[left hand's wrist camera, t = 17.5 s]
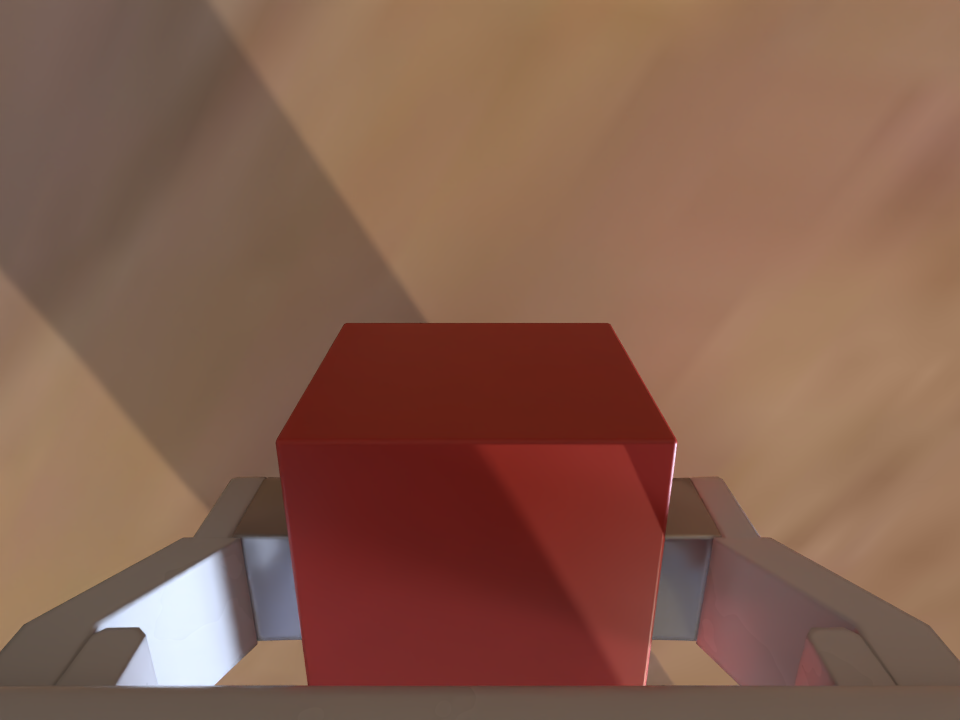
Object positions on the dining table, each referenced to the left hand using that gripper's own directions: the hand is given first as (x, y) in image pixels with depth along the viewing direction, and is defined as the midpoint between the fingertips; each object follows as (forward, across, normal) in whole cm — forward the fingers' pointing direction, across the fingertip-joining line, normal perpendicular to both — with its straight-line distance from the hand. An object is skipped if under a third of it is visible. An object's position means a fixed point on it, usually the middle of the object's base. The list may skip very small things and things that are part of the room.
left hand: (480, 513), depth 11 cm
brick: (+2, 0, 0) cm, 2 cm away
